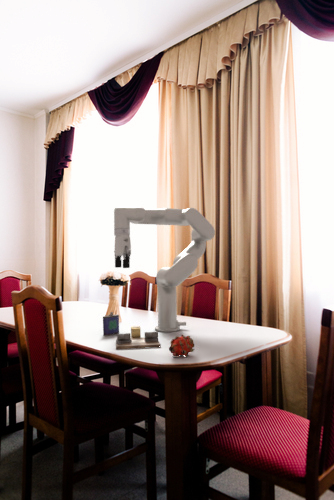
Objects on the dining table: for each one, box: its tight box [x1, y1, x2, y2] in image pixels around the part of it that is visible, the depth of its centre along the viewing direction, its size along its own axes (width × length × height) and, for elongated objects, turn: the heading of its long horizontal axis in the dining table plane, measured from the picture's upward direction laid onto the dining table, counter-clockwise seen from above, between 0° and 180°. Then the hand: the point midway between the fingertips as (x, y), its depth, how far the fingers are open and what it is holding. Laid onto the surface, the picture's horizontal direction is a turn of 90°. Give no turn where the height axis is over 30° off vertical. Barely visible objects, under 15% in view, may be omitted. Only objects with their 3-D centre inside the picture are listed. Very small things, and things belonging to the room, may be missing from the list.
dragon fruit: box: [168, 334, 195, 357], centre depth 141 cm, size 8×8×12 cm
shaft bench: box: [115, 331, 161, 350], centre depth 160 cm, size 18×14×5 cm
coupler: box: [130, 325, 142, 338], centre depth 171 cm, size 5×4×5 cm
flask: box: [102, 311, 120, 337], centre depth 181 cm, size 9×3×11 cm, turn 138°
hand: (122, 267), depth 183 cm, fingers open, 9 cm apart
